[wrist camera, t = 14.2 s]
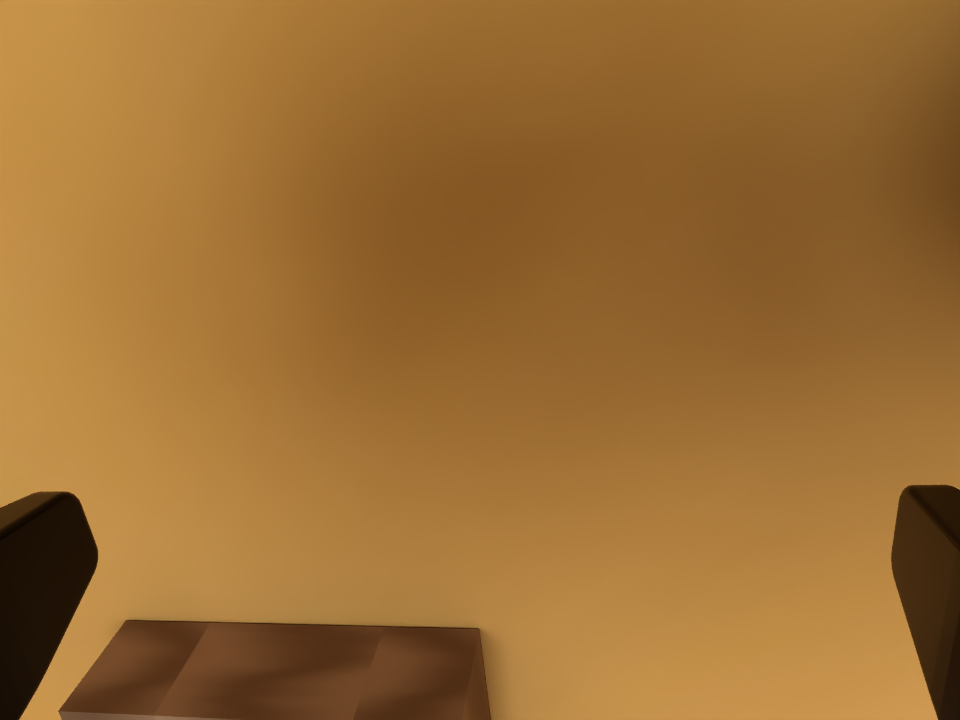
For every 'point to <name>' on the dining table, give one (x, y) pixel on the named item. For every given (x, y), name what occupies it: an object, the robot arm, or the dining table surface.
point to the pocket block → (283, 673)
